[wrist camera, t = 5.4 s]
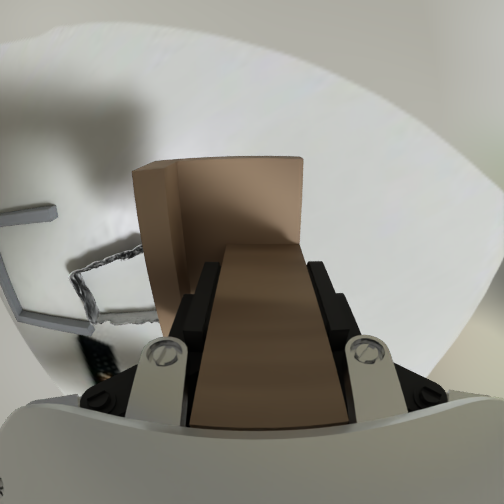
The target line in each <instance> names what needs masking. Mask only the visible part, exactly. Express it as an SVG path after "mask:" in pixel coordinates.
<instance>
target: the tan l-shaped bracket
mask: <svg viewBox="0 0 504 504" xmlns="http://www.w3.org/2000/svg"><path fill="white" fill-rule="evenodd" d="M132 178H133V187H134V195H135V202H136V209H137V216H138V223H139V229H140V235H141V240H142V246H143V251H144V257H145V262H146V267H147V272H148V276H149V281H150V285H151V290H152V294H153V298H154V303H155V307H156V311H157V315H158V319H159V322H160V326H161V330H162V333H163V337H167V336H168V335H169V332H170V329H171V327H172V324H173V321H174V318H175V316H176V313H177V310H178V308H179V305H180V302H181V300H182V297H183V295H184V294H194V293H195V290H196V287H197V284H198V281H199V278H200V275H201V272H202V269H203V266H204V263H205V262H219V263H220V265H222V267H221V271H220V275H219V280H218V284H217V289H216V294H215V298H214V303H213V307H212V312H211V317H210V321H209V326H208V331H207V336H206V341H205V346H204V350H203V355H202V360H201V365H200V370H199V376H198V381H197V386H196V391H195V396H194V402H193V407H192V413H191V418H190V424H189V425H190V427H191V428H199V429H212V430H230V431H283V430H301V429H314V428H324V427H333V426H341V425H347V424H348V422H349V419H348V414H347V410H346V406H345V402H344V398H343V394H342V390H341V386H340V382H339V378H338V374H337V370H336V366H335V362H334V359H333V355H332V351H331V348H330V344H329V340H328V337H327V333H326V330H325V326H324V323H323V319H322V316H321V312H320V309H319V305H318V302H317V299H316V295H315V292H314V289H313V286H312V282H311V279H310V276H309V273H308V269H307V266H306V263H305V260H304V257H303V254H302V251H301V248H300V245H299V242H300V225H301V207H302V185H303V158H301V157H294V156H227V157H203V158H186V159H173V160H161V161H154V162H152V163H149V164H147V165H145V166H142V167H140V168H138V169H136V170H134V171H132Z"/></svg>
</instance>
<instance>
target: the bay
mask: <svg viewBox="0 0 504 504" xmlns="http://www.w3.org/2000/svg"><path fill="white" fill-rule="evenodd" d="M57 217H58V214H57V209H56V205H53V206H46V207H39V208H32V209H25V210H19V211H13V212H7V213H1V214H0V227H3V226H11V225H20V224H30V223H40V222H51V221H53V220H54V219H56V218H57ZM0 285H1V287H2V289H3V292H4V294H5V296H6V299H7V301H8V303H9V305H10V307H11V309H12V311H13V313H14V316H15V318H16V320H17V321H18V322H22V323H26V324H30V325H35V326H39V327H44V328H48V329H53V330H58V331H63V332H68V333H74V334H80V335H86V336H91V335H92V334H93V332H94V330H95V329H94V327H93V325H91V323H90V322H88V321H81V320H74V319H67V318H61V317H55V316H49V315H43V314H38V313H33V312H27V311H23V310H22V307H21V305H20V303H19V301H18V299H17V296H16V294H15V292H14V289H13V287H12V284H11V282H10V279H9V277H8V274H7V271H6V269H5V266H4V263H3V260H2V257H1V254H0Z"/></svg>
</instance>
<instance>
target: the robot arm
mask: <svg viewBox="0 0 504 504" xmlns="http://www.w3.org/2000/svg"><path fill="white" fill-rule="evenodd" d="M306 266H307V269H308V273H309V276H310V279H311V282H312V286H313V289H314V292H315V295H316V299H317V302H318V305H319V309H320V312H321V316H322V319H323V323H324V326H325V330H326V333H327V337H328V340H329V344H330V348H331V351H332V355H333V359H334V362H335V366H336V370H337V374H338V378H339V382H340V386H341V390H342V394H343V398H344V402H345V406H346V410H347V414H348V419H349V422H348V424H347V425H341V426H333V427H324V428H314V429H301V430H283V431H230V430H212V429H199V428H191V427H190V425H189V424H190V418H191V413H192V407H193V402H194V396H195V391H196V386H197V381H198V376H199V370H200V365H201V360H202V355H203V350H204V346H205V341H206V336H207V331H208V326H209V321H210V317H211V312H212V307H213V303H214V298H215V294H216V289H217V284H218V280H219V275H220V271H221V267H222V265H220V263H219V262H205V263H204V266H203V269H202V272H201V275H200V278H199V281H198V284H197V287H196V290H195V293H194V294H184V295H183V297H182V300H181V302H180V305H179V308H178V310H177V313H176V316H175V318H174V321H173V324H172V327H171V329H170V332H169V335H168V336H167V337H160V338H156V339H154V340H152V341H150V342H149V343H148V344H147V345H146V346H145V347H144V348H143V350H142V353H141V356H140V360H139V363H138V364H137V365H135V366H133V367H131V368H129V369H127V370H125V371H123V372H121V373H119V374H117V375H115V376H113V377H111V378H109V379H107V380H105V381H103V382H100V383H98V384H96V385H94V386H92V387H91V388H89V389H87V390H86V391H85V393H84V394H83V395H82V396H81V397H79V396H78V394H73V395H67V396H62V397H55V398H48V399H41V400H35V401H32V402H30V403H28V404H27V405H26V406H23V407H20V408H18V409H16V410H15V411H14V412H13V413H11V414H10V416H9V417H8V418H7V419H6V421H5V422H4V424H3V425H2V427H1V428H0V504H504V399H503V398H499V397H491V396H488V395H480V394H473V393H466V392H460V391H454V390H449V391H448V392H447V393H446V392H445V390H444V389H443V388H442V387H441V386H440V385H438V384H437V383H435V382H433V381H431V380H429V379H427V378H425V377H422V376H420V375H418V374H416V373H414V372H412V371H410V370H408V369H406V368H404V367H402V366H400V365H398V364H396V363H394V362H393V360H392V357H391V354H390V351H389V349H388V347H387V345H386V344H385V343H384V342H383V341H382V340H380V339H378V338H377V337H374V336H370V335H361V333H360V330H359V328H358V325H357V323H356V321H355V318H354V316H353V314H352V311H351V309H350V307H349V304H348V302H347V300H346V297H345V295H344V294H343V293H335V290H334V288H333V285H332V283H331V281H330V278H329V276H328V273H327V271H326V269H325V266H324V264H323V262H322V261H309V262H308V263H307V265H306Z"/></svg>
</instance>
